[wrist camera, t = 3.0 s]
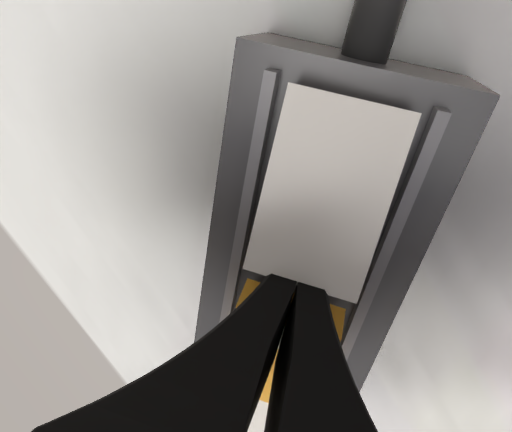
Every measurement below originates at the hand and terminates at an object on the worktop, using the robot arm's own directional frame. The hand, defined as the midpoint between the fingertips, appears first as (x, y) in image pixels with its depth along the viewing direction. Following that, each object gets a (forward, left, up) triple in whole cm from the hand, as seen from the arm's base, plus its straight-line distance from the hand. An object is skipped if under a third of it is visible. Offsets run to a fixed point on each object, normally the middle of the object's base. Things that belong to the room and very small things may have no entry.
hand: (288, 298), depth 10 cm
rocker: (0, -3, -1) cm, 3 cm away
